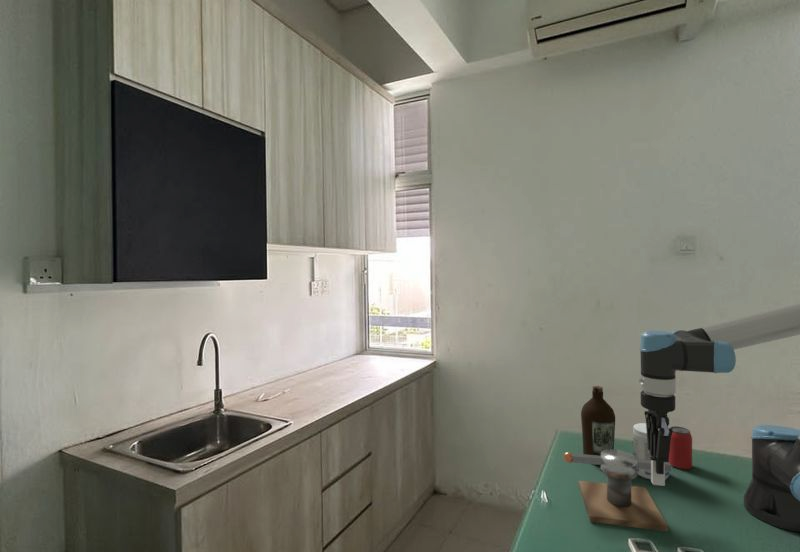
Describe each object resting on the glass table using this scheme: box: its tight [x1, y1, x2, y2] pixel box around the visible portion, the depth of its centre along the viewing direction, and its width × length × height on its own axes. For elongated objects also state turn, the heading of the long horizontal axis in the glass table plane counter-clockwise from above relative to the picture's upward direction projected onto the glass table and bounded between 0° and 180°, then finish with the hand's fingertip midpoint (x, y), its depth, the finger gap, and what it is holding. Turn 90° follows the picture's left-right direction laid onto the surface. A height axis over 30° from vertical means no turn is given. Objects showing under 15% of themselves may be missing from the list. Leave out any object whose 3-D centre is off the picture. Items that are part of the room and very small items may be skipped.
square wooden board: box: [578, 474, 669, 532], centre depth 115 cm, size 18×18×10 cm
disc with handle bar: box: [562, 448, 672, 480], centre depth 115 cm, size 27×9×4 cm, turn 75°
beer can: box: [669, 425, 693, 470], centre depth 136 cm, size 7×7×12 cm
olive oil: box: [580, 385, 616, 456], centre depth 141 cm, size 11×11×25 cm
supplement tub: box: [632, 422, 670, 480], centre depth 131 cm, size 10×10×15 cm
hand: (657, 483), depth 106 cm, fingers closed
